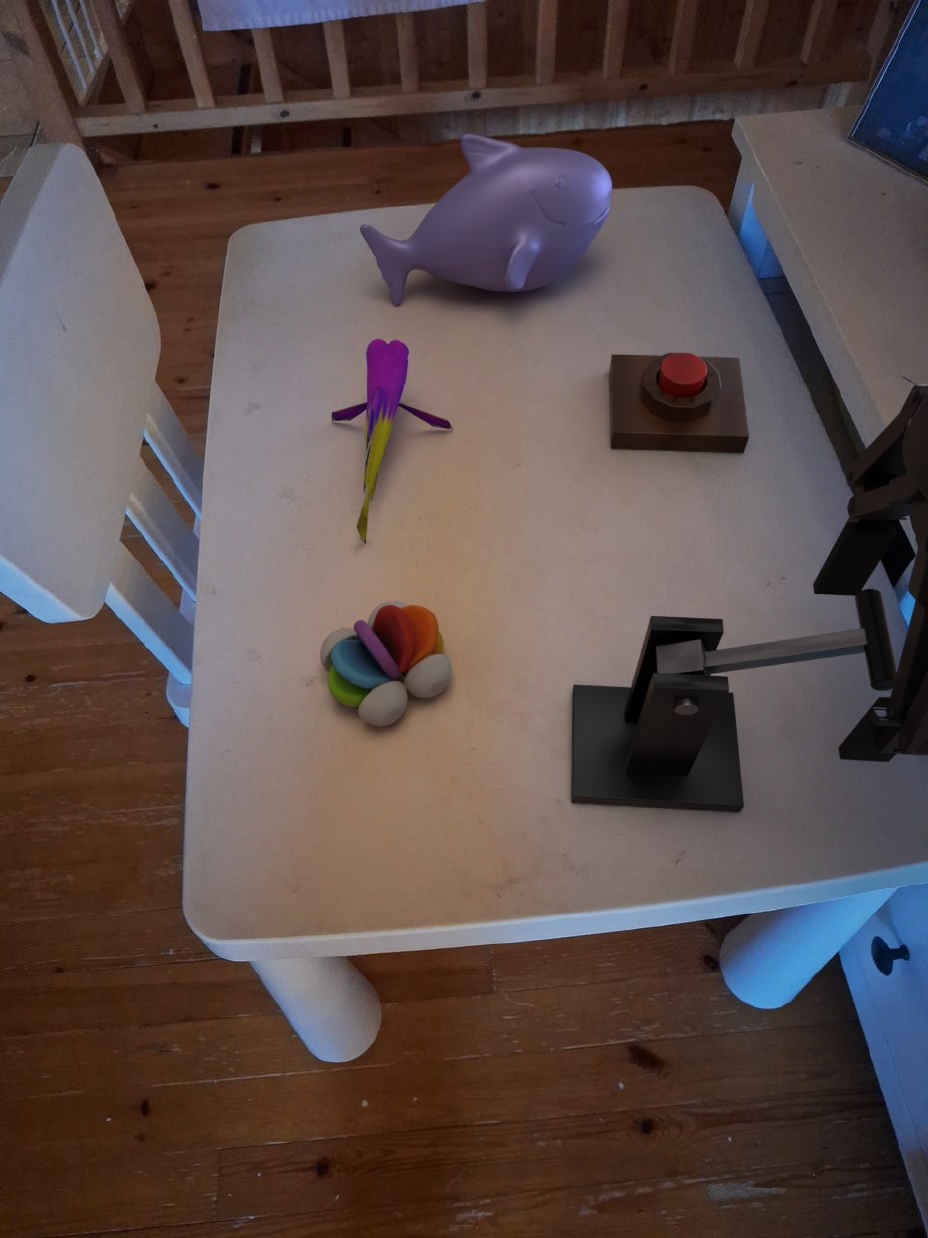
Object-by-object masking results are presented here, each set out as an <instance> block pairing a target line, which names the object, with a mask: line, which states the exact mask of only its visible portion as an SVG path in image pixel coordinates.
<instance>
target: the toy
mask: <svg viewBox="0 0 928 1238" xmlns="http://www.w3.org/2000/svg"><path fill="white" fill-rule="evenodd" d="M409 354H410V349H409V347H408V346H407V344H406V343H404V342H402V341H400V340H398V339H393V340H390V341H389V342H388V343H387V341H386V340H384V339H381V338H375V339H373V340H371V341H370V342H369V344H368V345H367V347H366V351H365V355H366V356H365V358H366V401H365V402H363V403H358V404H355V405H352V406H348V407H345V408H342V409H339V410H335V411H332V412H331V419H330V420H331V421H330V422H350V421H352V420H354V419H355V418H357V417H358V416H360V415H361V414H362V413H364V412H365V463H364V478H363V479H364V480H363V494H364V499H363V503H362V507H361V510H360V513H359V517H358V520H357V525H356V529H357V532H358V534H359V539H360V540H361V541H362V542H363V543H364V545H367V535H368V523H369V522H368V521H369V509H370V508H369V507H370V503H372V502H373V501H374V498H375V493H376V487H377V480H378V472H379V468H380V465H381V462H382V460H383V456H384V454H385V450H386V446H387V443H388V440H389V437H390V435H391V430H392V428H393V425H394V421H395V418H396V415H397V412H398V409H399V408H401V409H403V410H405V411H406V412H408V413H410V414H411V415H413V416H415V417H416V418H418V419H419V420H421V421H423V422H425V423H426V424H428V425H430V426H431V427H434V428H440V429H445V430H452V431H454V430H455V429H454V428H453V426H452V424H451V423H450V421H449V420H448V419H446V418H442V417H440V416H437V415H434V414H432V413H429V412H427V411H424V410H421V409H418V408H415V407H412V406H410V405H407V404H405V403H402V402H400V401H401V399H402V396H403V392H404V389H405V385H406V382H407V375H408V367H409Z"/></svg>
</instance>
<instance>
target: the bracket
mask: <svg viewBox="0 0 928 1238" xmlns="http://www.w3.org/2000/svg"><path fill="white" fill-rule="evenodd" d="M724 629H725V628H724V619H723V618H713V617H712V618H711V617H710V618H709V617H691V616H689V617H687V616H669V615H668V616H665V615H650V618H649V621H648V625H647V628H646V633H645V636H644V639H643V642H642V647H641V650H640V653H639V656H638V660H637V663H636V668H635V671H634V675H633V677H632V678H633V679H632V682H631V686H613V685H591V684H573V686H572V692H571V693H572V695H571V697H572V698H571V706H572V707H571V770H570V771H571V773H570V774H571V775H570V776H571V777H570V778H571V779H570V780H571V782H570V783H571V785H570V802H571V803H572V804H586V805H587V804H588V805H601V806H602V805H603V806H619V807H621V806H622V807H638V808H656V809H671V810H673V809H674V810H687V811H688V810H691V811H705V812H706V811H707V812H722V813H723V812H724V813H741V812H742V810H743V808H744V807H745V802H744V794H743V793H744V792H743V781H742V772H741V771H742V770H741V760H740V749H739V739H738V737H739V736H738V729H737V728H738V727H737V717H736V707H735V694H734V692H732V691H730V685H729V684H730V683H729V677H728V676H727V675H711V676H710V675H690V674H669V673H657V653H656V647H657V646H659V645H665V644H672V643H678V642H685V641H691V640H697V639H701V640H702V643H703V645H704V647H705V649H706V651H714V650H718V647H719V645H720V643H721V640H722V638H723V636H724V633H725V630H724Z"/></svg>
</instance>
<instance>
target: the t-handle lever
mask: <svg viewBox="0 0 928 1238" xmlns="http://www.w3.org/2000/svg"><path fill="white" fill-rule="evenodd" d="M854 602H855V607H856V613H857V618H858V623H859V624H858V625H859V628H856V629H849V630H841V631H835V632H829V633H821V634H815V635H810V636H809V635H808V636H801V637H796V638H789V639H783V640H782V639H781V640H775V641H774V640H773V641H769V642H761V643H754V644H749V645H741V646H735V647H728V648H721V649H717V650H714V651H706V649H705V647H704V645H703V643H702V640H701V639H697V640H691V641H685V642H678V643H672V644H665V645H659V646H657V647H656V653H657V673H669V674H690V675H710V676H712V675H713V674H715V675H716V674H722V673H728V672H735V671H742V670H743V671H744V670H750V669H758V668H765V667H771V666H778V665H785V664H793V663H794V664H795V663H801V662H807V661H814V660H815V661H816V660H821V659H830V658H836V657H843V656H852V655H857V654H864V657H865V663H866V668H867V674H868V679H869V684H870V687H871V688H872V690H875V691H878V692H879V691H880V692H883V691H884V692H885V691H886V692H887V691H892V688H893V685H894V681H895V677H896V673H897V666H896V660H895V655H894V651H893V646H892V641H891V636H890V635H891V634H890V630H889V626H888V621H887V616H886V611H885V605H884V601H883V596H882V592H881V591H880V590H879V589H877V588H865V589H864V588H863V589H862V590H861V591H859V592H858V593H857V594H856V595H855V596H854Z"/></svg>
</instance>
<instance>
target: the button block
mask: <svg viewBox="0 0 928 1238" xmlns="http://www.w3.org/2000/svg"><path fill="white" fill-rule="evenodd" d="M674 353H675V352H667V353H665V354H662V355H657V354H655V355H652V354H615V353H613V354H611V357H610V364H609V369H608V373H609V375H608V376H609V378H608V379H609V436H610V439H609V441H610V443H609V444H610V449H611V450H614V449H615V450H637V451H664V452H665V451H667V452H695V453H696V452H698V453H724V454H725V453H728V454H729V453H730V454H744V453H745V450H746V449H747V444H748V442H749V439H750V429H749V421H748V414H747V413H748V412H747V406H746V398H745V389H744V382H743V372H742V366H741V358H740V357H730V356H729V357H728V356H725V357H724V356H698V357H699V358H701V359H702V360H703V361H704V363H705V364H706V367H707V373H706V377H705V381H704V385H703V388H702V390H701V391H700V392H699V393H698V394H697V395H695V396H693V397H690V398H684V397H674V396H671V395H669V394H667V393H665V392H664V391H663V390H662V389H661V387H660V385H659V375H660V371H661V366H662V362H663V361H664V359H665V358H666V357H668V356H669V355H672V354H674ZM689 353H690V352H689ZM690 354H692V353H690Z"/></svg>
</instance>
